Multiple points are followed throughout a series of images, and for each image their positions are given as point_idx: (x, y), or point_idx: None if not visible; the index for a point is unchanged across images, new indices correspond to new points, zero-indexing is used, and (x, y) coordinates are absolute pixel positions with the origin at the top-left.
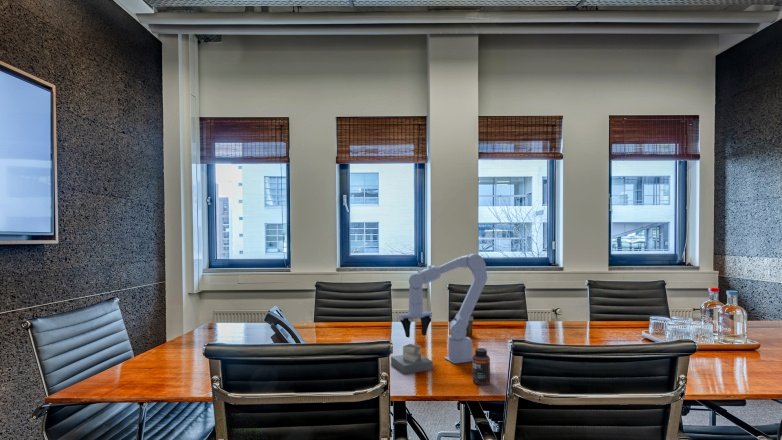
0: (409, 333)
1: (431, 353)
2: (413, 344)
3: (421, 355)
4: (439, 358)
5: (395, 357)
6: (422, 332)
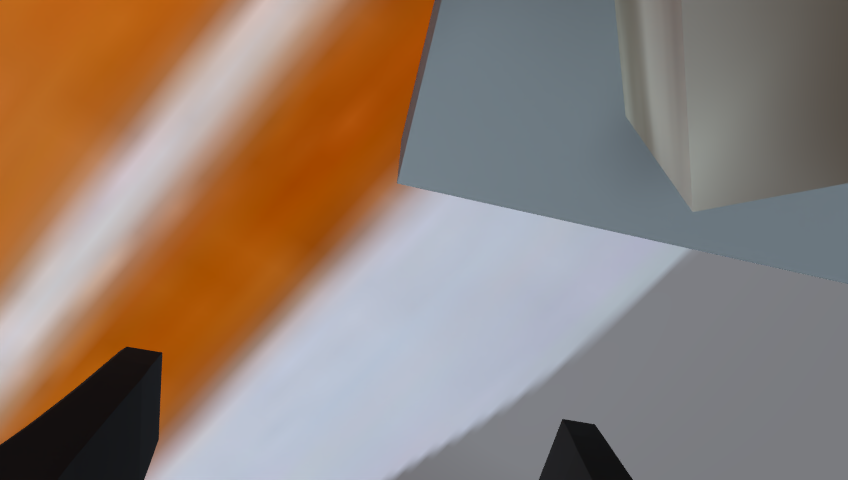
0: (599, 477)
1: (42, 252)
2: (709, 123)
3: (447, 42)
4: (56, 16)
5: (845, 214)
6: (141, 458)
